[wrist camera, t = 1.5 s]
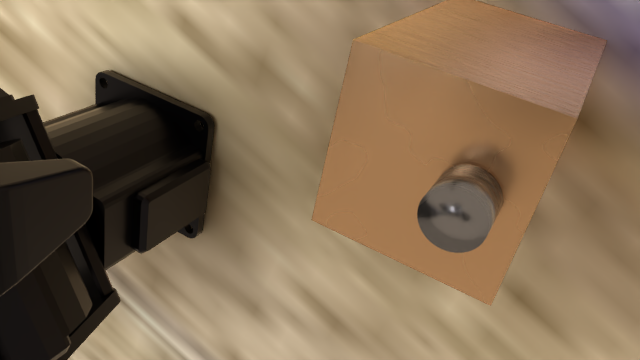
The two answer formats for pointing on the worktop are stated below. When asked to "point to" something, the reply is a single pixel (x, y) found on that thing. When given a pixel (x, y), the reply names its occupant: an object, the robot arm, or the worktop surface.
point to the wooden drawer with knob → (452, 137)
